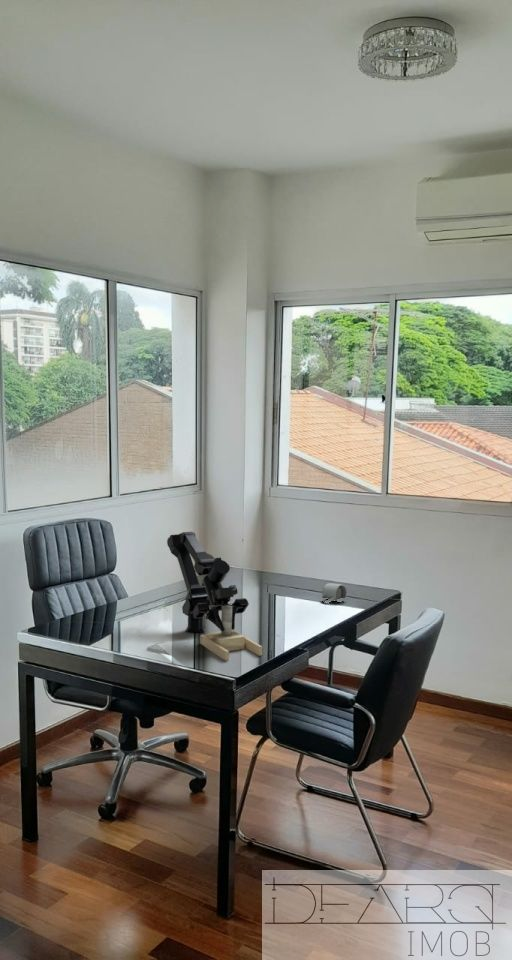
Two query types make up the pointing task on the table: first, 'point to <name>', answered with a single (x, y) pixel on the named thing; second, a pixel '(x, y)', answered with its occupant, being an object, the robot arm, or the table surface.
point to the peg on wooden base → (227, 633)
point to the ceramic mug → (334, 591)
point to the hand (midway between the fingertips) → (228, 630)
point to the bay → (225, 653)
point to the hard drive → (157, 648)
